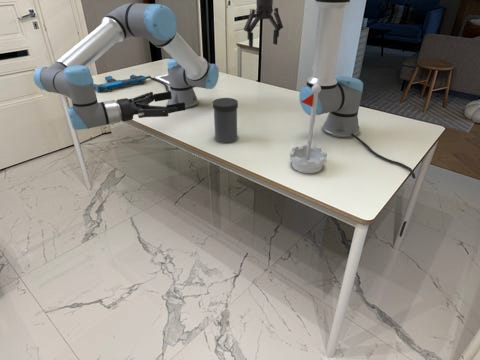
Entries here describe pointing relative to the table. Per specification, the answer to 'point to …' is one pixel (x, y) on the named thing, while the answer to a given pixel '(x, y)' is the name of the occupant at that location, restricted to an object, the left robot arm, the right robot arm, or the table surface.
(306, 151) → the flag stand
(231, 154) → the table surface
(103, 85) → the submachine gun
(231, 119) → the jar
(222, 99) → the lid
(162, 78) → the tablet
